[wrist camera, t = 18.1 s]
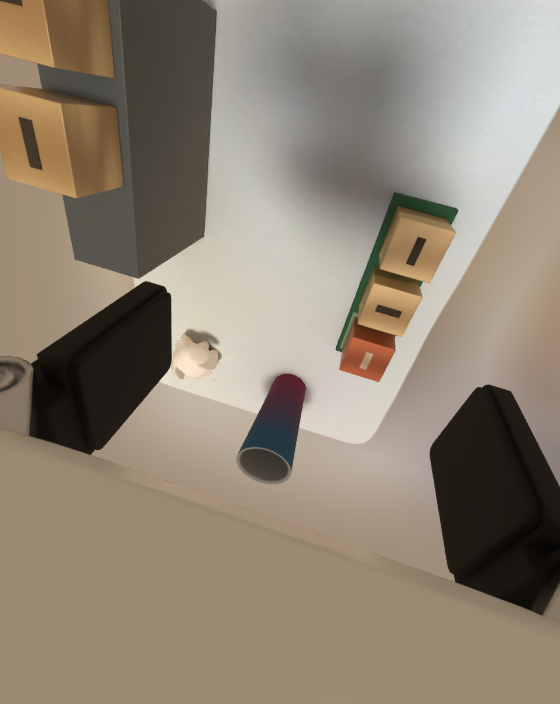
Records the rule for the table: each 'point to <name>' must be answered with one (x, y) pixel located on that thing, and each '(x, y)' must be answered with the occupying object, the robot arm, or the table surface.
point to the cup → (274, 433)
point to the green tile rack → (401, 264)
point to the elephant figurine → (193, 359)
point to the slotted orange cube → (367, 351)
